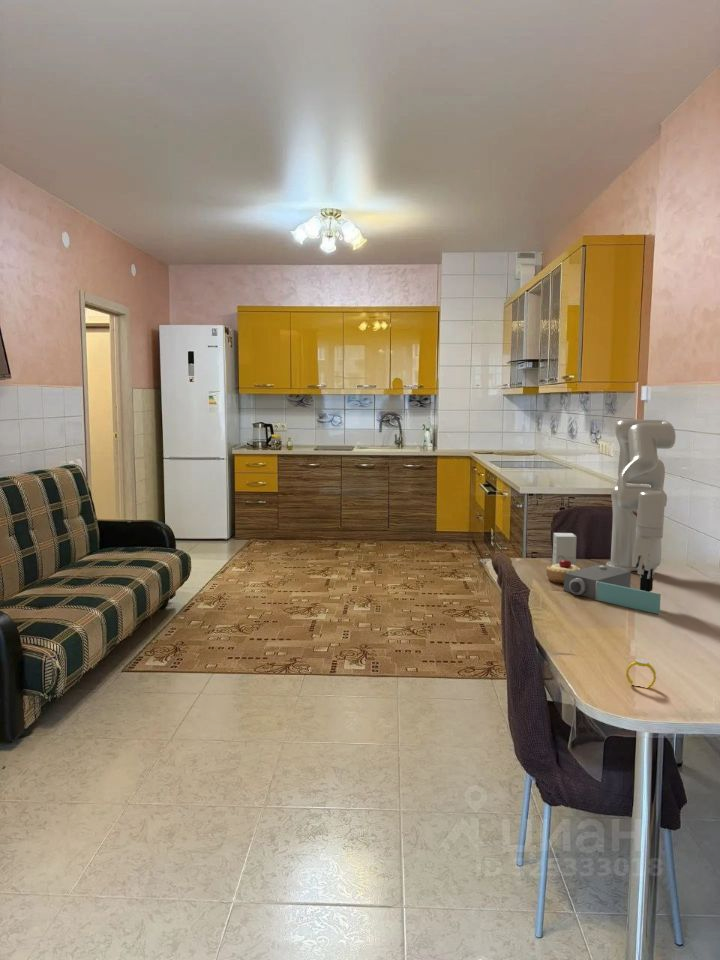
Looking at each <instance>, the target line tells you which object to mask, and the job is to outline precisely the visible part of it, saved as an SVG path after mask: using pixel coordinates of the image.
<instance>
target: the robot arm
mask: <svg viewBox="0 0 720 960" xmlns="http://www.w3.org/2000/svg"><path fill="white" fill-rule="evenodd" d="M614 429H615V430H614V431H615V436H616V438H617V441H618V444H619V455H618V466H617V477H618V478H617V483H616V485H615V486H614V487H613V488H612V490H611V495H610V496H611V498H610V499H611V506H612V530H611V544H610V545H611V546H610V549H611V550H610V560H609V561H607V562H606V564H605V566H608V567H613V568H617V569H622V570H627V571H631V572H634V571H635V572H636V571H637V574H638V575H639V577H640V578H639V579H640V580H639V581H640V582H639V590H642V591H647V592H652V591H653V588H654V587H653V585H654V583H653V582H654V577H655V571H656V570H657V567H659V566H661V563H662V539H663V538H664V537H663V536H664V522H665V521H664V520H665V507H667V502H668V496H667V493H666V492H665V490H664V485H665V478H666V476H665V474H666V470H665V469H666V468H665V464H664V462H663V461H662V460H661V459H659V455H658V449H662V450H663V449H664V450H667V449H668V450H669V449H672V448H673V447H674V445H675V444H676V439H677V438H676V437H677V436H676V430H675V428H674V426H673V424H672V423H670V422H669V421H667V420H665V419H664V420H663V419H636V418H633V419H631V418H630V419H621V420H618V421H617V422H616V425H615V428H614ZM633 511H635V512H636V514H634V512H633Z"/></svg>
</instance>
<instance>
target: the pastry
mask: <svg viewBox="0 0 720 960" xmlns="http://www.w3.org/2000/svg"><path fill="white" fill-rule="evenodd" d="M559 557H560V556H559ZM559 557H558V558H559ZM561 557H563V556H561ZM558 558H557V559H558ZM563 558H564V557H563ZM564 559H565V558H564ZM545 569H546V570H545V571H546V576H547V578H548V580H549V581H550V582H552V583H555V584H560V583H562V584H561V585H564V573H567V572H571V571H575V570H579V569H581V568H580V566H577V565H576V566H575V565H571V562H570V561H569V560H564V561H560V562H559V563H558V564H553V563H552V564H549V565H547V566H546V568H545Z"/></svg>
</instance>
